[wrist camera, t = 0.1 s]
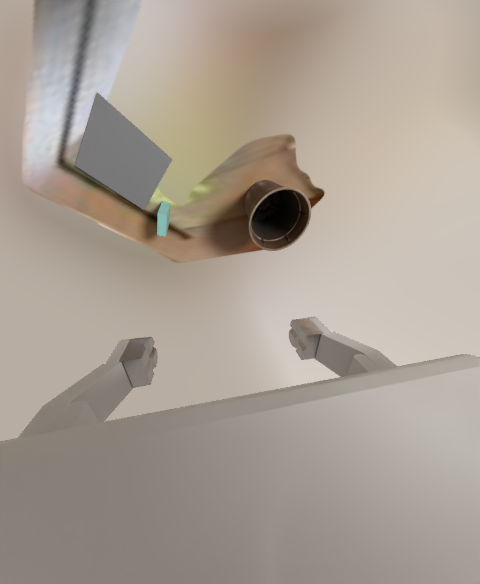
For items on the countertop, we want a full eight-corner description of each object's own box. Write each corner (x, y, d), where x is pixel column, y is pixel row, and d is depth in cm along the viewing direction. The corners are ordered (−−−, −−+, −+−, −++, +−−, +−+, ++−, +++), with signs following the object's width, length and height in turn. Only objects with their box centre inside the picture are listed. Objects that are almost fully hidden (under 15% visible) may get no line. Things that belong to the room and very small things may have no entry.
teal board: (170, 203, 52) (166, 215, 45) (169, 222, 56) (165, 236, 49) (162, 201, 51) (157, 213, 45) (161, 221, 55) (157, 234, 49)
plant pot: (277, 157, 48) (301, 170, 37) (294, 207, 59) (317, 229, 48) (228, 193, 53) (237, 215, 42) (252, 234, 64) (265, 260, 52)
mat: (97, 93, 35) (96, 92, 35) (172, 159, 45) (172, 159, 44) (75, 165, 42) (74, 165, 42) (144, 209, 52) (143, 210, 51)
